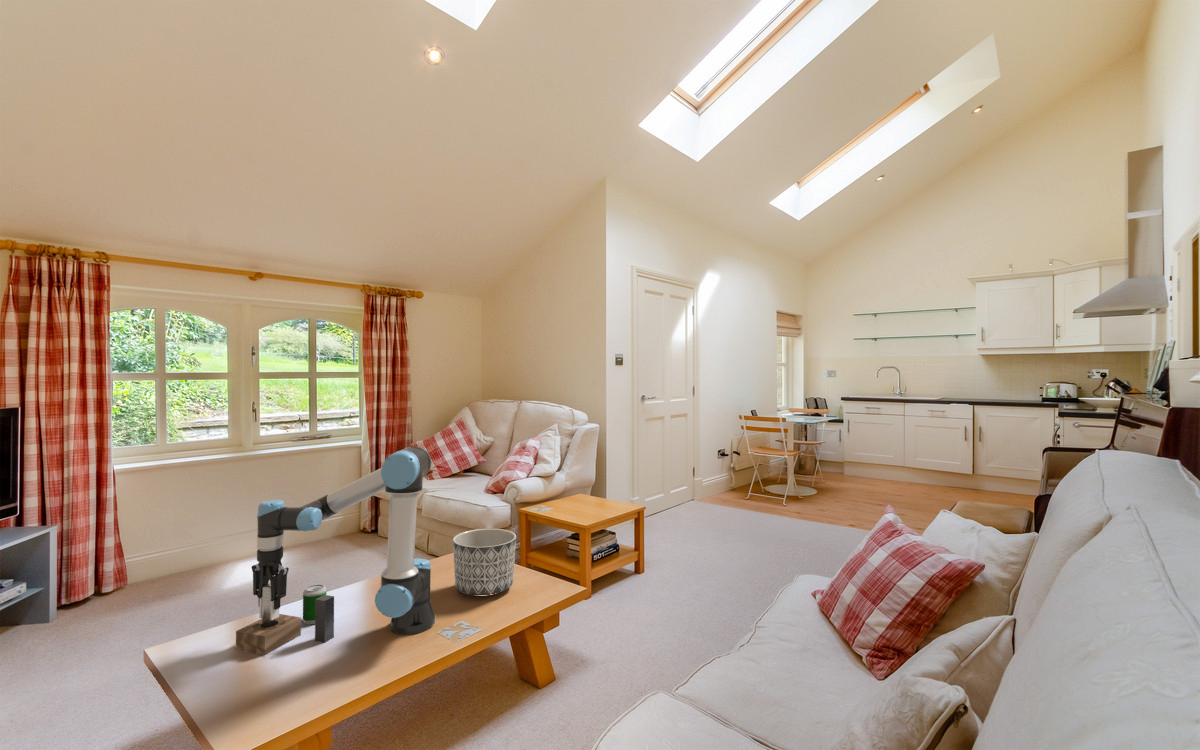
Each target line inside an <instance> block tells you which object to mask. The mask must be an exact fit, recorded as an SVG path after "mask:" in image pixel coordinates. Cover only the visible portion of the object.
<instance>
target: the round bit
mask: <svg viewBox="0 0 1200 750" xmlns="http://www.w3.org/2000/svg"><path fill="white" fill-rule="evenodd" d="M271 599H273V597H272V590H271V583H268V584H266V585H264V586H263V592H262V618H261V619H262V628H269V627H272V626H275V625H276V619H274V620H270V604H271Z"/></svg>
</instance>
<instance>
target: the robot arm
mask: <svg viewBox="0 0 1200 750" xmlns="http://www.w3.org/2000/svg"><path fill="white" fill-rule="evenodd" d="M431 467H432V458H431V455H430V453H429V452H428V451H427V450H425V448H423V447H419V446H410V447H406V448H404V449H401V450H397V451H395V452H393V453H391V454H390V455H389V456H388V457H386V458H385V460H384V461H383V463H382V465H381V467H380V468H378V469H376V470H374V471H372V472H370V473H368V474H367V475H364V476H362V477H360V478H358V479H357V480H354V481H351V482H350V483H348V484H346V485H343V486H342V487H340V488H337V489H336V490H334V491H332V492H330V493H328V494H325V495H323V496H322V497H320V498H318V499H316V500H315V499H314V500H313V501H310V502H309V503H306V504H304V505H302V506H300V507H299V506H298V507H297V506H295V507H288V506H285V502H284V500H281V499H271V500H264V501H261V502H260V503H259V504H258V506H257V507H258V508H257V515H256V517H257V535H256V537H257V538H256V549H257V551H256V561H257V563H256V564H253V565H252V566H251V570H252V591H253V592H252V594H253V595H254V596H256V597H257V598H258V607H259V609H258V610H259V615H258V617H259V619H262V592H263V586H264V585H266V584H271V590H272V597H273V599H271V604H270V620H274V619H276V618H278V617H279V614H280V608H281V600H282V598H285V597H286V596H287V586H288V585H287V584H288V583H287V581H288V580H287V579H288V573H289V570H290V568H289V567H284V566H283V563H282V558H283V557H284V546H283V545H284V531H296V532H297V531H298V532H299V531H300V532H308V531H316V530H318V529H319V528H320V527H319V526H321V524H322V521H324V520H327V519H328V518H330V517H332V516H335V515H336V514H338V513H339V512H341V511H344V510H346V509H348V508H350V507H352V506H354V505H356V504H358V503H360V502H362V501H364V500H367V499H368V498H371V497H373V496H375V495H377V494H378V493H381V492H382V491H384V490H385V491H384V492H385V493H386V494H387V495H388V496H389V511H388V512H389V513H388V529H387V531H388V532H387V535H388V536H387V549H386V550H387V554H386V555H387V556H386V567H385V568H384V569H383V571H381V574H380V575H381V576H380V578H381V579H380V588H379V589H378V590H377V591H376V593H375V598H374V605H375V606H376V607H375V608H376V609H377V610H378V612H380V613H381V614H382V615H383V616H385V617H387V618H391V620H390V630H391V631H392V632H393V633H396V634H399V635H411V634H412V635H414V634H419V633H422V632H425V631H427V630H429V629H431V628H432V627H433V626H434V625H435V623H436V614H435V612H434V609H433V606H432V602H431V575H432V574H431V573H432V567H431V561H429V560H428V559H425V558H415V549H416V547H415V546H416V531H417V530H416V528H417V527H416V526H417V509H418V507H417V505H418V496H419V494H420V493H421V492H422V491H423V484H424V483H423V481H424V477H425V476H427V474H428V473H429V472H430V470H431ZM433 624H434V625H433ZM432 625H433V626H432ZM431 626H432V627H431ZM430 627H431V628H430Z"/></svg>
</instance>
